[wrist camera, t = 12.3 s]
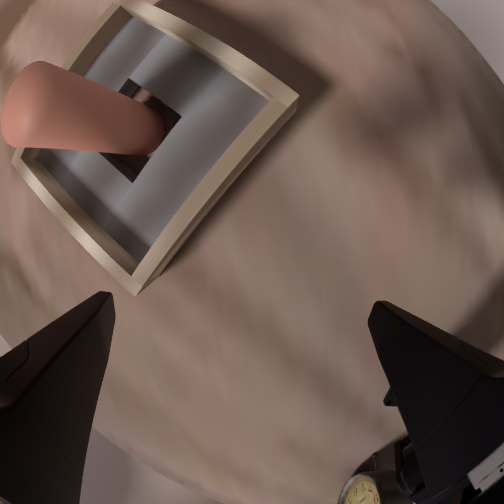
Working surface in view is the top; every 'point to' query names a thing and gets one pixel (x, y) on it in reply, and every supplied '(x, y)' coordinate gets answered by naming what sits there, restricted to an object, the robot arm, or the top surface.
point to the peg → (76, 114)
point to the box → (171, 149)
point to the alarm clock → (373, 488)
